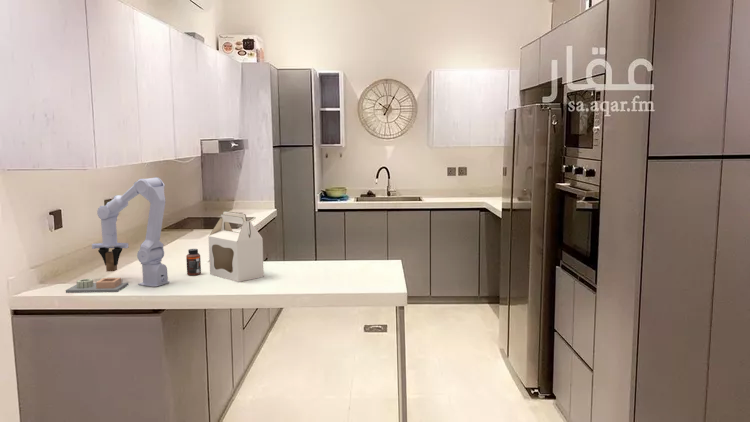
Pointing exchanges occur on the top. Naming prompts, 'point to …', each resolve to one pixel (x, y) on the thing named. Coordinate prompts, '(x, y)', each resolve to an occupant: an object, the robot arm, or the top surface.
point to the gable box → (235, 249)
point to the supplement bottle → (193, 262)
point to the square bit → (110, 262)
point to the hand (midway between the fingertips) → (111, 264)
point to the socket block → (97, 285)
